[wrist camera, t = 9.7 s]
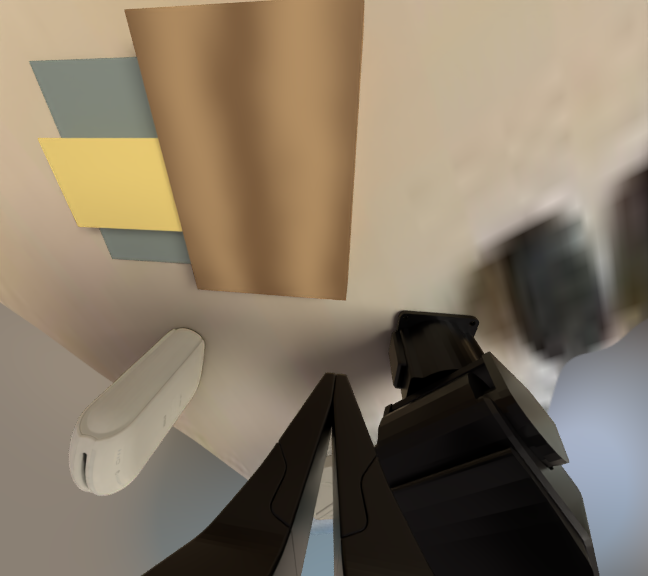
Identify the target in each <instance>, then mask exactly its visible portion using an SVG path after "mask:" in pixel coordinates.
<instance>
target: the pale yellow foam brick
mask: <svg viewBox="0 0 648 576" xmlns="http://www.w3.org/2000/svg"><path fill="white" fill-rule="evenodd" d="M38 140H39V143H40V145H41V147H42V149H43V151H44V153H45V156H46V158H47V160H48V162H49V164H50V166H51V169H52V171H53V173H54V175H55V177H56V179H57V182H58V184H59V186H60V188H61V190H62V192H63V195H64V197H65V199H66V201H67V203H68V205H69V208H70V210H71V212H72V214H73V216H74V218H75V221H76V223H77V225H78V227H96V228H118V229H140V230H161V231H182V227H181V223H180V220H179V216H178V212H177V208H176V204H175V201H174V197H173V193H172V189H171V185H170V182H169V178H168V174H167V170H166V166H165V163H164V159H163V155H162V151H161V147H160V144H159V140H158V138H38Z"/></svg>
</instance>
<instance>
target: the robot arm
mask: <svg viewBox="0 0 648 576" xmlns="http://www.w3.org/2000/svg"><path fill="white" fill-rule="evenodd" d="M404 316H408V317H407V318H403V317H404ZM471 321H474V322H473V323H470V322H471ZM478 325H479V321H478V320H477V318H476V317H474V316H465V315H452V314H439V313H427V312H414V311H403V312H401V313H400V315H399V319H398V325H397V330H396V331H394V332H393V333H392V337H391V342H390V348H389V359H390V366H391V373H392V380H393V385H394V387H395V388H399V389H401V394H402V400H401V401H399V402H397V403H395V404H390V405H388V406H386V407H385V411H384V415H383V418H382V420H381V422H380V425H379V428H378V441H377V445H375V447H374V446H373V443H372V440H371V438H370V435H369V433H368V430H367V427H366V425H365V422H364V419H363V417H362V414H361V411H360V409H359V406H358V404H357V401H356V398H355V396H354V393H353V390H352V388H351V385H350V383H349V380H348V377H347V375H345V374H335V373H328V372H327V373H325V374H324V376H323V377H322V379H321V380H320V382H319V383H318V385H317V386H316V387H315V389H314V390H313V392H312V393H311V395H310V396H309V397H308V399H307V400H306V402H305V403H304V405H303V406H302V408H301V409H300V410H299V412H298V413H297V415H296V416H295V418H294V419H293V421H292V422H291V423H290V425H289V426H288V428H287V429H286V431H285V432H284V434H283V435H282V436H281V438H280V439H279V441H278V442H279V443H276V445H275V446H274V448H273V449H272V451H271V452H270V453H269V455H268V456H267V458H266V459H265V460H264V462H263V463H262V464H261V466H260V467H259V468H258V469H257V470H256V472H255V473H254V474H253V475H252V477H251V478H250V479H249V480H248V481H247V483H246V484H245V485H244V486H243V487H242V488H241V490H240V491H239V492H238V493H237V494H236V495H235V496H234V498H233V499H232V500H231V501H230V502H229V504H228V505H227V506H226V507H225V508H224V509H223V510H222V511H221V513H220V514H219V515H218V516H217V517H216V518H215V519H214V521H213V522H212V523H211V524H210V525H209V526H208V527H207V528H206V529H205V530H204V531H203V532H201V533H200V534H199V535H198V536H196V538H194V539H193V540H191V541H190V542H188V543H187V544H186V545H184V546H183V547H181V548H180V549H178V550H177V551H176V552H174V553H173V554H171V555H170V556H169V557H167V558H166V559H164V560H163V561H161V562H160V563H158V564H157V565H156V566H154V567H153V568H151V569H150V570H149V571H147V572H146V573H144V574H143V575H141V576H301V573H302V568H303V563H304V558H305V554H306V549H307V544H308V539H309V535H310V530H311V525H312V521H313V516H314V511H315V507H316V502H317V497H318V492H319V488H320V483H321V478H322V473H323V469H324V464H325V459H326V455H327V450H328V445H329V440H330V435H331V429H332V484H333V534H334V535H333V537H334V576H599V571H598V567H597V562H596V557H595V553H594V548H593V543H592V539H591V534H590V530H589V525H588V521H587V517H586V512H585V507H584V503H583V498H582V495H581V493H580V491H579V489H578V488H577V486H576V485H575V484H574V482H573V481H572V479H571V478H570V477H569V476H568V474H567V473H566V471H565V470H564V468H563V467H562V466H561V465H563V464H566V463H569V459H568V457H567V454H566V451H565V449H564V446H563V443H562V441H561V438H560V436H559V433H558V430H557V428H556V425H555V424H554V422H553V421H552V419H551V418H550V417H549V415H548V414H547V413H546V412H545V410H544V409H543V408H542V406H541V405H540V404H539V403H538V401H537V400H536V399H535V398H534V396H533V395H532V394H531V392H530V391H529V390H528V389H527V388H526V387H525V386H524V385H523V384H522V383H521V382H520V381H519V380H518V379H517V378H516V377H515V376H514V375H513V374H512V373H511V372H510V371H509V370H508V369H507V368H506V367H505V366H504V365H503V364H502V363H501V362H500V361H499V360H498V359H497V358H496V357H495V356H494V355H493V354H492V353H491V352H487V353H485V354H484V352H483V351H482V349H481V348H480V346H479V345H478V343H477V342H476V340H475V338H474V335H475V333H476V330H477V327H478Z"/></svg>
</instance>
